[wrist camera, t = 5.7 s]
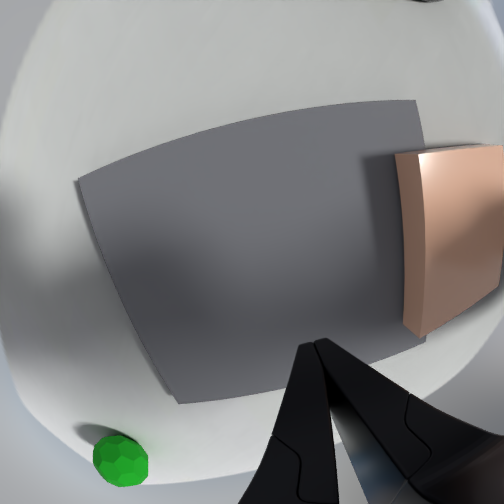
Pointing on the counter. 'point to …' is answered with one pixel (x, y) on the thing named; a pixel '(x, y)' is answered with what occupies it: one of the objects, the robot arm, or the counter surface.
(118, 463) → the polyhedron
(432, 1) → the supplement bottle
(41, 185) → the counter surface
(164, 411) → the counter surface
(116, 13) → the counter surface
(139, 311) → the mat
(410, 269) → the tile
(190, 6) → the counter surface
